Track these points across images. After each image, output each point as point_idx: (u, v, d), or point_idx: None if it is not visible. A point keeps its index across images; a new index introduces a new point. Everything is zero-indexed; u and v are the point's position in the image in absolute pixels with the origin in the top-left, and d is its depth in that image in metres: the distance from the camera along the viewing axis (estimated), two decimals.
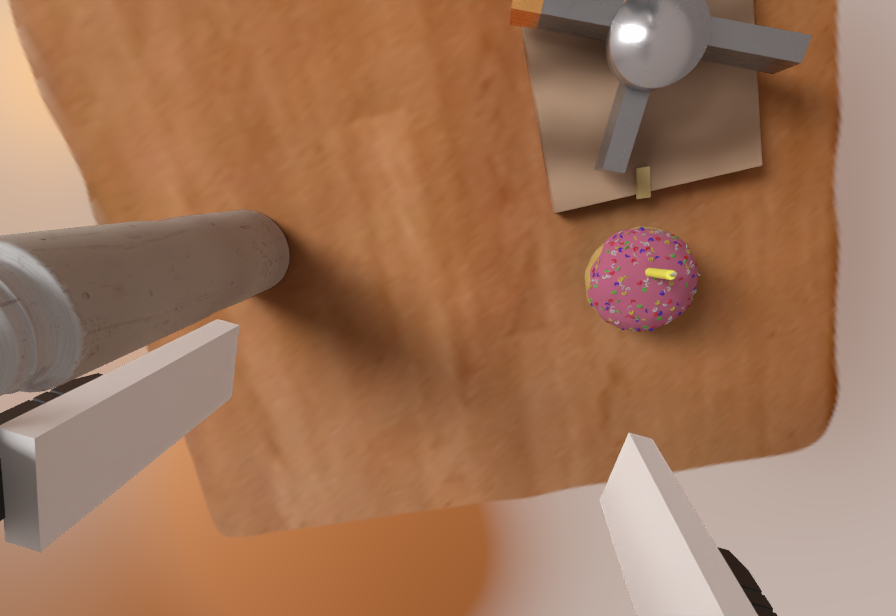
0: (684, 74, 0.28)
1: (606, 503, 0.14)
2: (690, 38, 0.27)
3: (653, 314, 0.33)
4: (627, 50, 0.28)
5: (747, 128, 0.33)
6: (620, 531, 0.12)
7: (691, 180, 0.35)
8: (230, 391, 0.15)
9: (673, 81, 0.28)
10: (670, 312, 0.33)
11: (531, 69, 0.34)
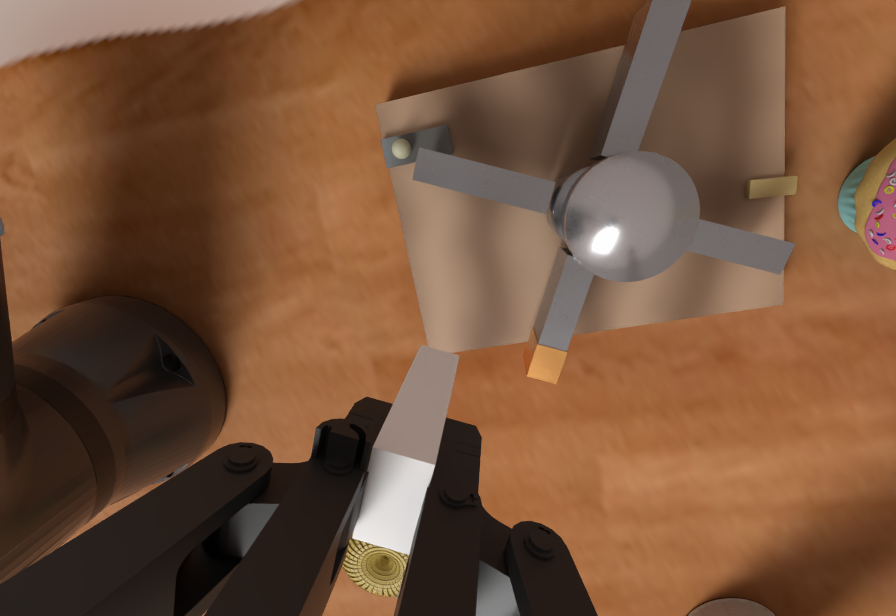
0: (689, 181, 0.20)
1: None
2: (643, 178, 0.20)
3: None
4: (642, 260, 0.21)
5: (723, 39, 0.23)
6: None
7: (783, 115, 0.23)
8: None
9: (696, 196, 0.20)
10: None
11: (592, 330, 0.28)
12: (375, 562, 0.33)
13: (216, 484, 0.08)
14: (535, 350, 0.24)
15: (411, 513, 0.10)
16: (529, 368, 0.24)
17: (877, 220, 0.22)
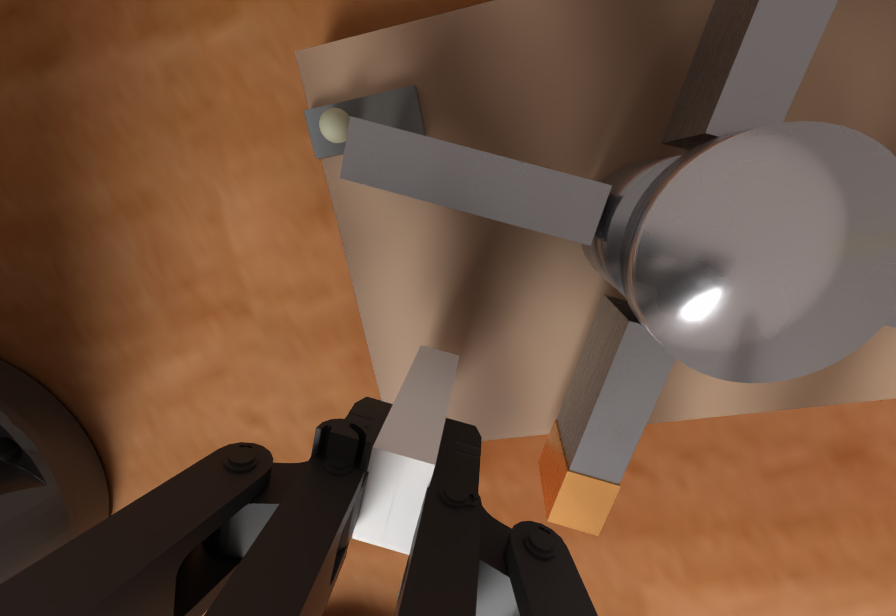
0: None
1: None
2: (808, 179, 0.09)
3: None
4: (788, 343, 0.10)
5: None
6: None
7: None
8: None
9: None
10: None
11: (648, 421, 0.18)
12: None
13: (216, 484, 0.08)
14: (562, 477, 0.14)
15: (411, 513, 0.10)
16: (552, 508, 0.14)
17: None
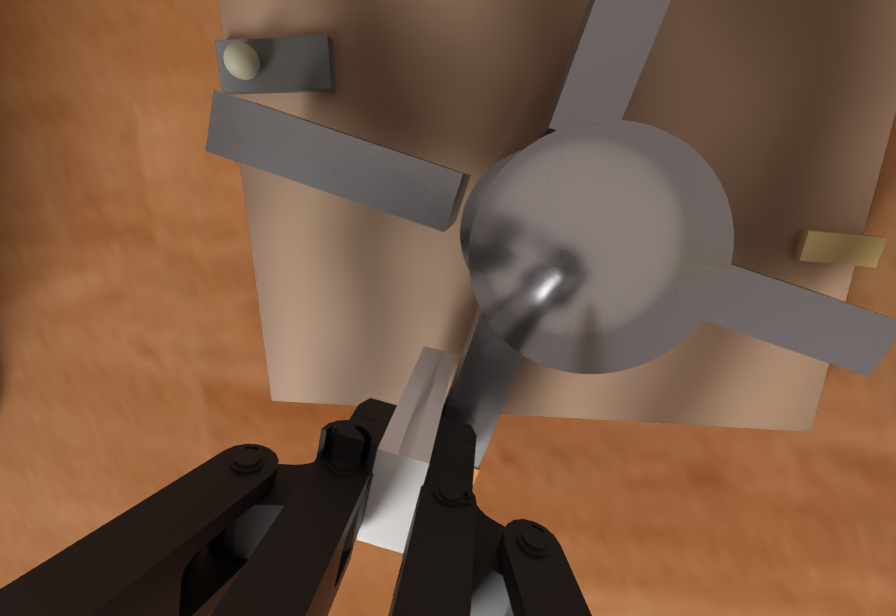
0: (718, 190, 0.10)
1: None
2: (625, 176, 0.10)
3: None
4: (613, 336, 0.11)
5: None
6: None
7: (887, 131, 0.14)
8: None
9: (728, 220, 0.10)
10: None
11: (516, 412, 0.18)
12: None
13: (222, 486, 0.08)
14: None
15: (405, 511, 0.10)
16: None
17: None
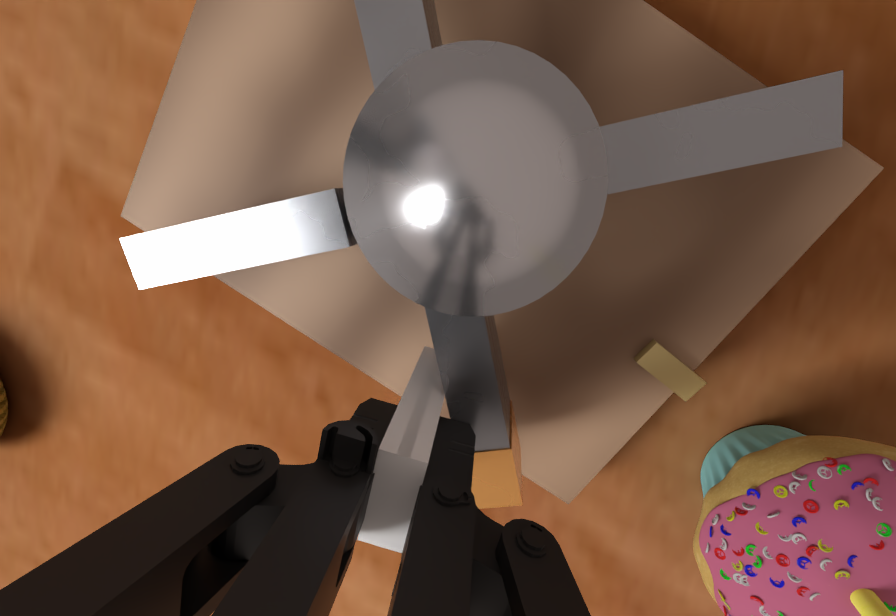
0: (538, 61, 0.09)
1: None
2: (448, 103, 0.09)
3: None
4: (533, 253, 0.10)
5: None
6: None
7: (757, 299, 0.15)
8: None
9: (567, 82, 0.09)
10: None
11: (345, 358, 0.18)
12: None
13: (223, 486, 0.08)
14: None
15: (404, 511, 0.10)
16: None
17: (735, 512, 0.14)
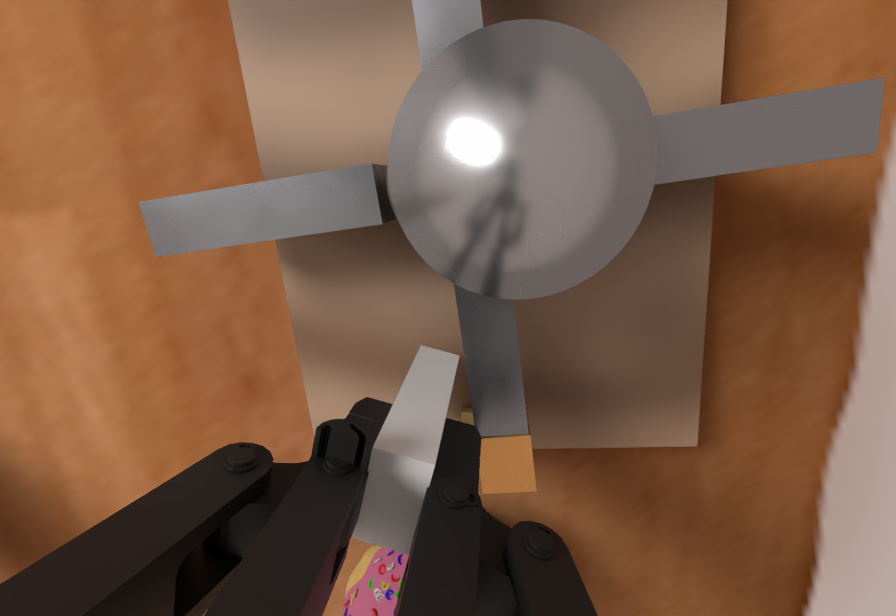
0: (598, 46, 0.09)
1: None
2: (503, 82, 0.09)
3: None
4: (576, 238, 0.10)
5: (677, 378, 0.17)
6: None
7: (563, 446, 0.18)
8: None
9: (624, 69, 0.09)
10: None
11: None
12: None
13: (216, 484, 0.08)
14: None
15: (411, 513, 0.10)
16: (481, 480, 0.14)
17: None
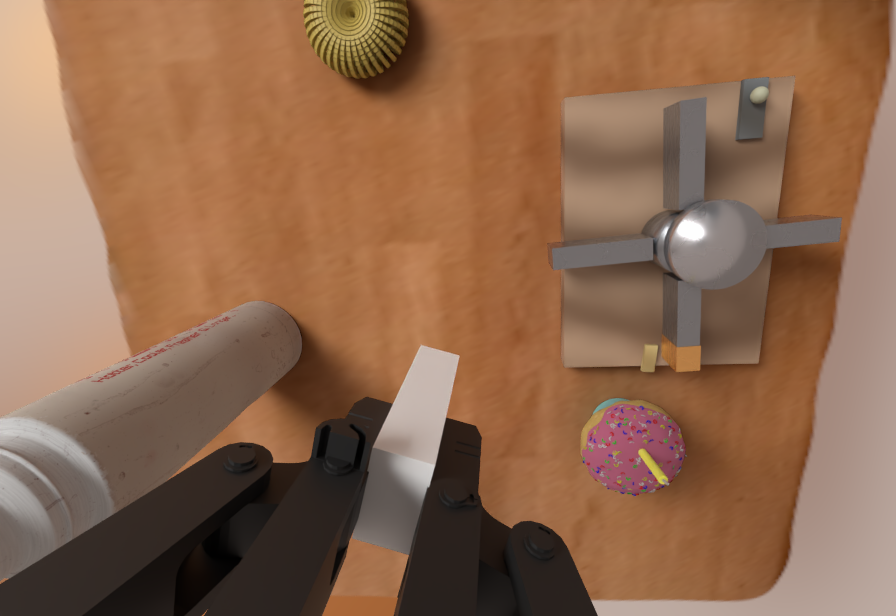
0: (750, 208, 0.28)
1: None
2: (717, 217, 0.29)
3: (638, 486, 0.36)
4: (736, 268, 0.29)
5: (751, 330, 0.36)
6: None
7: None
8: None
9: (758, 216, 0.28)
10: (654, 487, 0.36)
11: (565, 240, 0.36)
12: (351, 1, 0.31)
13: (216, 484, 0.08)
14: (675, 351, 0.33)
15: (411, 513, 0.10)
16: (676, 366, 0.33)
17: (630, 408, 0.36)
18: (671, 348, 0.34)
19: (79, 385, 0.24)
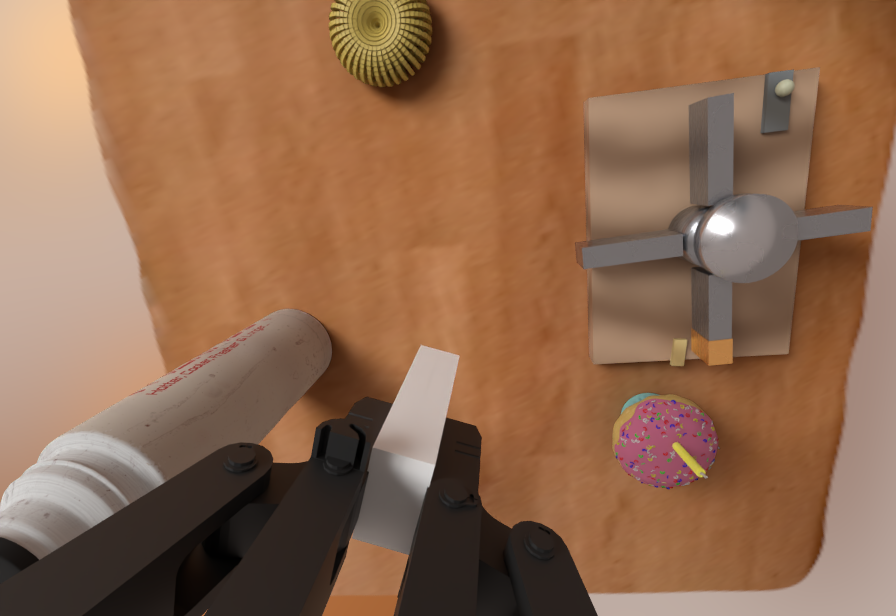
0: (781, 201, 0.28)
1: None
2: (748, 212, 0.29)
3: (673, 480, 0.36)
4: (767, 261, 0.30)
5: (780, 321, 0.36)
6: None
7: None
8: None
9: (789, 208, 0.28)
10: (689, 480, 0.36)
11: (591, 239, 0.36)
12: (376, 12, 0.32)
13: (216, 484, 0.08)
14: (707, 345, 0.33)
15: (411, 513, 0.10)
16: (708, 359, 0.33)
17: (662, 403, 0.36)
18: (702, 342, 0.34)
19: (135, 398, 0.25)
